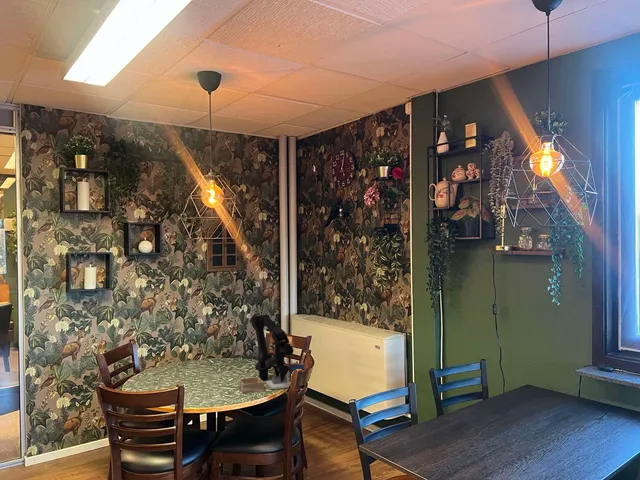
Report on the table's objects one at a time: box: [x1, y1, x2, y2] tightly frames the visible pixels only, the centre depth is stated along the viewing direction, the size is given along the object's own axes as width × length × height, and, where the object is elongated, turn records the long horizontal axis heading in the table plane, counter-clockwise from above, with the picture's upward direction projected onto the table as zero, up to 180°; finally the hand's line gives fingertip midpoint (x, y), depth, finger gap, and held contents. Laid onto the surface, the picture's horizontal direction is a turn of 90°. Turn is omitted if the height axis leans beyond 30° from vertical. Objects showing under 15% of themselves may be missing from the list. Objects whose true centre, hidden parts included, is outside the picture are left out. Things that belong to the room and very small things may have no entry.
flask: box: [289, 360, 305, 379], centre depth 294 cm, size 9×3×11 cm, turn 88°
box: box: [237, 376, 265, 395], centre depth 271 cm, size 12×12×5 cm
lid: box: [265, 375, 291, 390], centre depth 278 cm, size 13×13×6 cm
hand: (279, 379), depth 278 cm, fingers open, 9 cm apart
